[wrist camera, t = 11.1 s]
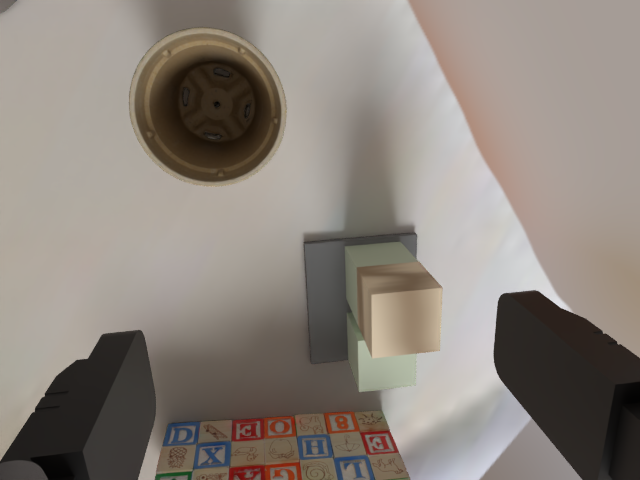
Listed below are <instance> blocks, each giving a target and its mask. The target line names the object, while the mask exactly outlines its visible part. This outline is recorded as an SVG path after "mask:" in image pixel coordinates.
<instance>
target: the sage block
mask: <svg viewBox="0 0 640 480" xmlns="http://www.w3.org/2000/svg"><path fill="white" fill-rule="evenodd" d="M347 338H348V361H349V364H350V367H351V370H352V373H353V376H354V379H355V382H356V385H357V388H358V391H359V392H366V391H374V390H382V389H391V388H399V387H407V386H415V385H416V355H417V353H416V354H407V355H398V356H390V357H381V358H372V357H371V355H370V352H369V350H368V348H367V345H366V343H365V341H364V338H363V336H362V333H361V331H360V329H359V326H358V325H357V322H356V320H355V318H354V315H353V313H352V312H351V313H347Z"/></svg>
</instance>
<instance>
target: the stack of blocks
mask: <svg viewBox="0 0 640 480" xmlns="http://www.w3.org/2000/svg"><path fill="white" fill-rule="evenodd" d="M155 480H410V477H409V474H408V472H407V471H406V467H405V465H404V462H403V460H402V458H401V455H400V454H399V451H398V449H397V446H396V444H395V442H394V439H393V437H392V435H391V432H390V429H389V426H388V424H387V421H386V419H385V416H384V414H383V412H382V411H365V412H336V413H316V414H301V415H294V416H286V417H270V418H264V419H246V420H234V421H232V420H219V421H203V422H187V423H173V424H168V427H167V431H166V435H165V438H164V442H163V448H162V450H161V453H160V457H159V461H158V465H157V470H156V476H155Z"/></svg>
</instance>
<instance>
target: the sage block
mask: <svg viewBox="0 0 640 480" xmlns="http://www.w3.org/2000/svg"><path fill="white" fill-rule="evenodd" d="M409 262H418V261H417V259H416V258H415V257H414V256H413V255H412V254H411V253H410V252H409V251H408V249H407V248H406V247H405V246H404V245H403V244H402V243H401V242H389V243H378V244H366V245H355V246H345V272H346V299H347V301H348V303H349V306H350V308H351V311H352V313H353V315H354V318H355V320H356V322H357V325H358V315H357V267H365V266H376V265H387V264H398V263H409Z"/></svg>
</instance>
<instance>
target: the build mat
mask: <svg viewBox="0 0 640 480" xmlns="http://www.w3.org/2000/svg"><path fill="white" fill-rule="evenodd" d="M389 242H401V243H402V244H403V245H404V246H405V247H406V248H407V249H408V251H409V252H410V253H411V254H412V255H413V256H414V257H415V258H416V254H417V234H416V233H405V234H393V235H382V236H370V237H359V238H347V239H335V240H324V241H312V242H304V252H305V269H306V286H307V303H308V320H309V336H310V353H311V363H312V364H317V363H326V362H334V361H343V360H348V338H347V313H351V312H352V311H351V308H350V306H349V303H348V301H347V299H346V272H345V246H355V245H366V244H378V243H389Z"/></svg>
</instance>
